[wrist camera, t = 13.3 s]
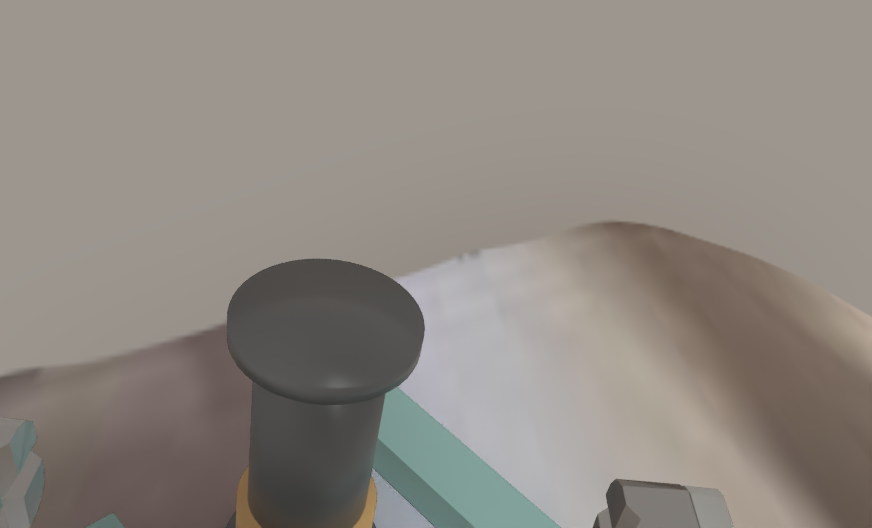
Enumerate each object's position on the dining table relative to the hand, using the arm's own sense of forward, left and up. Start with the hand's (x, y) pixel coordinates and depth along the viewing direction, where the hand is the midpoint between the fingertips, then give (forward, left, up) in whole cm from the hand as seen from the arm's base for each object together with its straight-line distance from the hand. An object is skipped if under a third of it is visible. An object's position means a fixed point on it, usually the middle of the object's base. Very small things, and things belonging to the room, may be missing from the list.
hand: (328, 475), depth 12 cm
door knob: (-9, -10, -21) cm, 25 cm away
